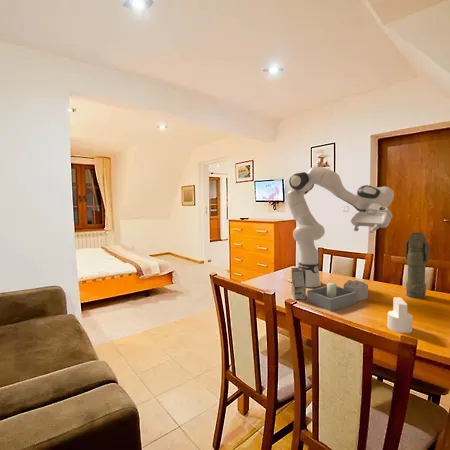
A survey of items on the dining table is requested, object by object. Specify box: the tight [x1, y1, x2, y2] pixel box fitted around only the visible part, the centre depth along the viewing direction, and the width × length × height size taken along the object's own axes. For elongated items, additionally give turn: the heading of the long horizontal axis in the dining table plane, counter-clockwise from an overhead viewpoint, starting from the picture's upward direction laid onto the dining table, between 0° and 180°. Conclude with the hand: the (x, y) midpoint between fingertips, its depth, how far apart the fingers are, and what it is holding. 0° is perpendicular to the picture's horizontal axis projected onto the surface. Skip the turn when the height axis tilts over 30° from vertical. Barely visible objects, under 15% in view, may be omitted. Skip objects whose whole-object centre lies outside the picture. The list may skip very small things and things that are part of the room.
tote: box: [306, 285, 357, 312], centre depth 154 cm, size 16×19×6 cm
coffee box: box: [290, 266, 307, 300], centre depth 163 cm, size 9×6×16 cm
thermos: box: [404, 232, 431, 300], centre depth 157 cm, size 9×12×35 cm
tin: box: [326, 282, 337, 298], centre depth 153 cm, size 5×5×9 cm
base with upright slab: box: [386, 296, 414, 334], centre depth 122 cm, size 9×9×12 cm
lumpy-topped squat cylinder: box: [343, 279, 369, 301], centre depth 160 cm, size 10×13×9 cm
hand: (363, 231), depth 153 cm, fingers open, 8 cm apart
